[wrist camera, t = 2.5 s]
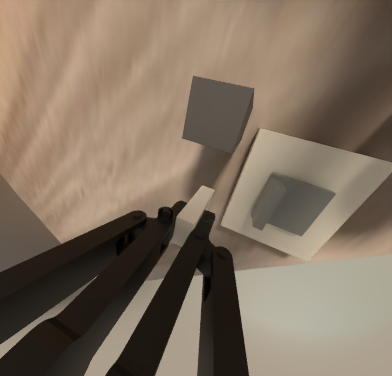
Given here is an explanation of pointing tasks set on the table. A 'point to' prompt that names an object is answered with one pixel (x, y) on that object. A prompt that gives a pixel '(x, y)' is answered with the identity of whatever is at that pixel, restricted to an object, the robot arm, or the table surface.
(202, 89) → the plug
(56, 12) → the table surface
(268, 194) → the plate
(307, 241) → the socket plate
